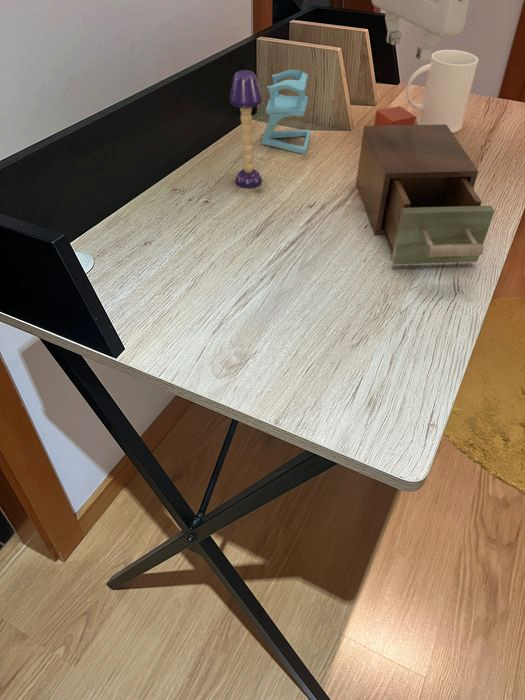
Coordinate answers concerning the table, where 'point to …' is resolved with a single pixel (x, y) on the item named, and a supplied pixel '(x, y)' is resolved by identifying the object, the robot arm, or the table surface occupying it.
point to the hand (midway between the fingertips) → (407, 51)
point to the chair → (286, 110)
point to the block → (394, 117)
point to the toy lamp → (246, 123)
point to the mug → (445, 88)
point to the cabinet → (406, 162)
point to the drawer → (435, 220)
